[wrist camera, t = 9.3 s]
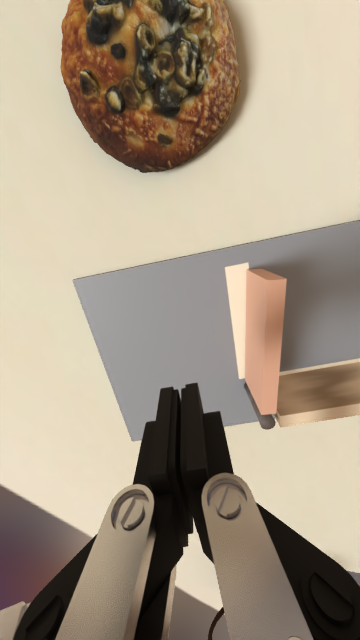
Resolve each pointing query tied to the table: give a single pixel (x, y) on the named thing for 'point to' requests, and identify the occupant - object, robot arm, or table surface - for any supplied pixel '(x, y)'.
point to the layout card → (222, 320)
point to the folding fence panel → (264, 336)
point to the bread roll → (150, 76)
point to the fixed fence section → (314, 396)
